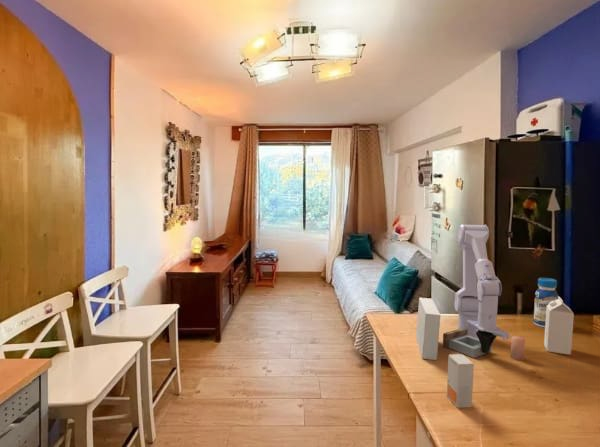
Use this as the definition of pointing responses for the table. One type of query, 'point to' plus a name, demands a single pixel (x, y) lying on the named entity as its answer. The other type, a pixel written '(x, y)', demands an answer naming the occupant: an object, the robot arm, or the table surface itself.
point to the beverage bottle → (544, 299)
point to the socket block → (467, 345)
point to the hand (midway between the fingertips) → (485, 352)
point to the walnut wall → (453, 335)
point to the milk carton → (558, 327)
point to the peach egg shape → (517, 347)
